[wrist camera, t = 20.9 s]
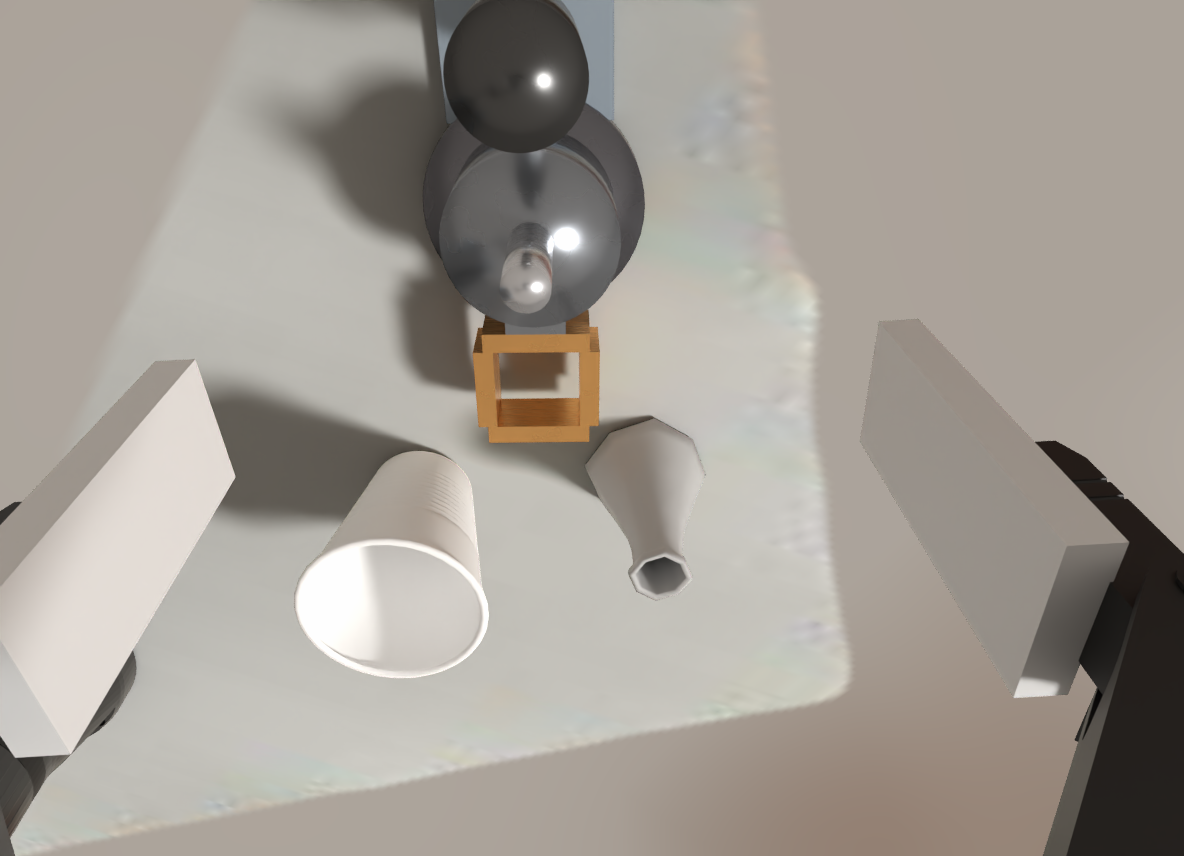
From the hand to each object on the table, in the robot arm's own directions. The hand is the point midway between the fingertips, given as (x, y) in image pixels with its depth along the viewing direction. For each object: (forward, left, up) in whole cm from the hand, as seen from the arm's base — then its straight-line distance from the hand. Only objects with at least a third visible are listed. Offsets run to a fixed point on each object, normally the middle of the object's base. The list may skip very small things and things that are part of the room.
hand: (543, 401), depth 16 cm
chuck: (-1, -8, -26) cm, 27 cm away
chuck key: (-1, +4, -27) cm, 27 cm away
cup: (-9, -22, -28) cm, 36 cm away
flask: (+5, -21, -28) cm, 35 cm away
